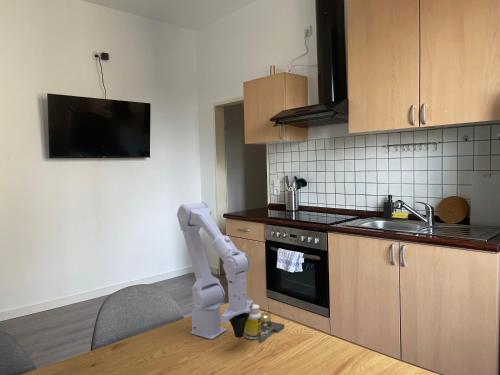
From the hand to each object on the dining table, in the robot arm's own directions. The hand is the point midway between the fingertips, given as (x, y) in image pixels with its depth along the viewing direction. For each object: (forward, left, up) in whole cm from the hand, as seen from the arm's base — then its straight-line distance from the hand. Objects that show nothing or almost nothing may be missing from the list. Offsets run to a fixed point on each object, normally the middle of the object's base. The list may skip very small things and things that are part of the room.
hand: (239, 336), depth 113 cm
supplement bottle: (0, +7, -3) cm, 8 cm away
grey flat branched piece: (0, +11, -3) cm, 12 cm away
